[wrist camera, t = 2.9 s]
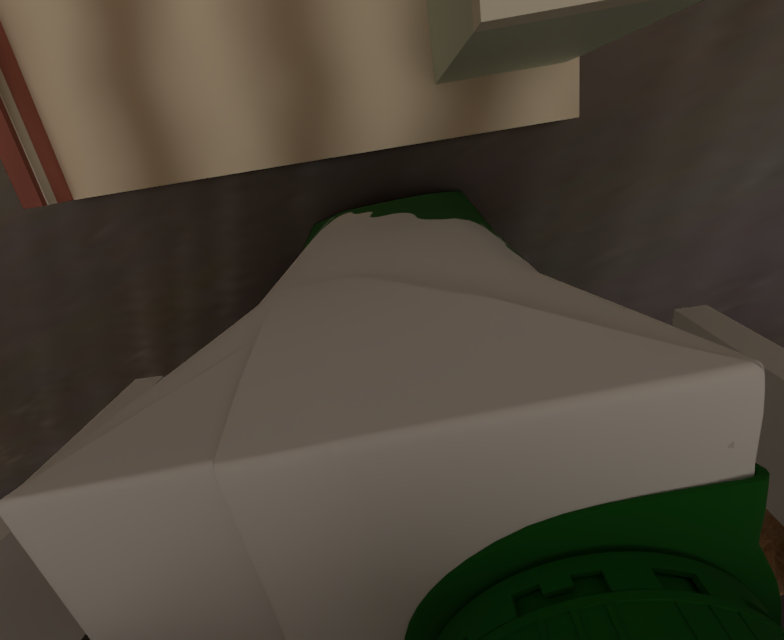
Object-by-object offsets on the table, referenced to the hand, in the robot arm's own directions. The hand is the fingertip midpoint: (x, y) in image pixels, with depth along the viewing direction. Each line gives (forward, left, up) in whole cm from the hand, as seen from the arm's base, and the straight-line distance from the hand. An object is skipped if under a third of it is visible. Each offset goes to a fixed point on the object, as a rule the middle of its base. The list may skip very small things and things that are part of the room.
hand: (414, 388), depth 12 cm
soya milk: (0, 0, -12) cm, 12 cm away
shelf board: (-3, +11, -11) cm, 16 cm away
